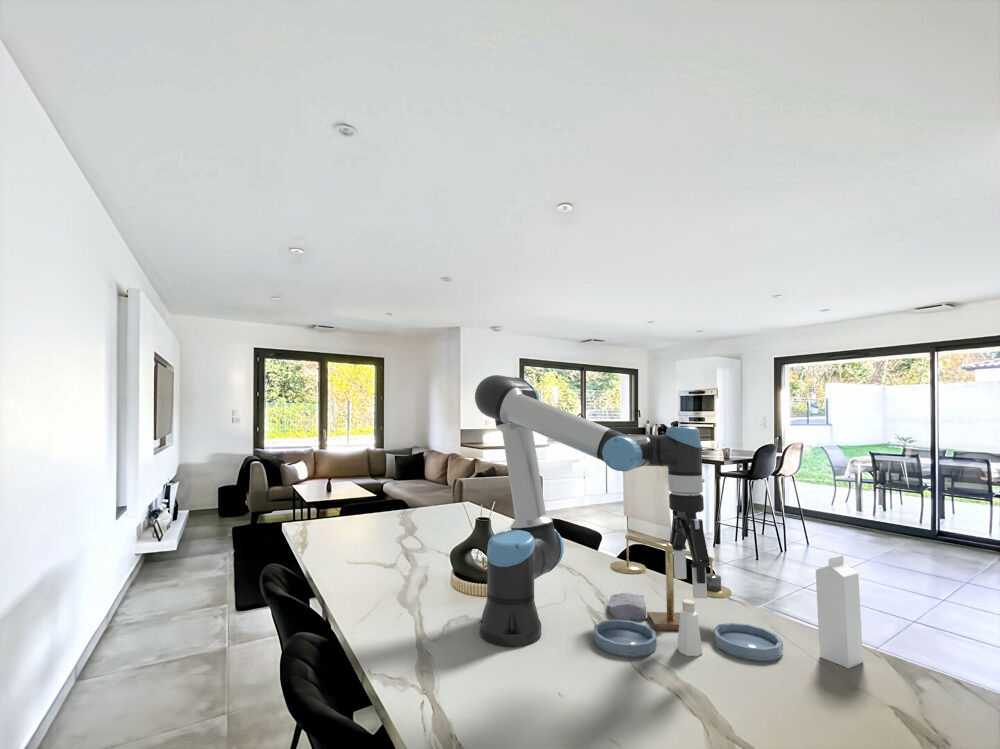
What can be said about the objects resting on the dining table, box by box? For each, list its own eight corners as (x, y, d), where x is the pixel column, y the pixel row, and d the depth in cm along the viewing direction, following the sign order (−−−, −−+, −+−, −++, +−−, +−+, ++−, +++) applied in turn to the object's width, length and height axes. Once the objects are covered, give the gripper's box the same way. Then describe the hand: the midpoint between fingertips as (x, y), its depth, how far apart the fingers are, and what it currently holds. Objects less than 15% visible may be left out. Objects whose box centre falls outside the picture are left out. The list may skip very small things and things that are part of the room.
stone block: (611, 626, 132) (650, 621, 130) (607, 607, 133) (645, 602, 131) (610, 611, 144) (645, 606, 142) (606, 593, 144) (642, 588, 143)
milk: (863, 662, 109) (858, 558, 111) (848, 669, 106) (844, 562, 108) (833, 651, 114) (829, 551, 116) (818, 657, 111) (814, 555, 113)
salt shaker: (700, 659, 110) (698, 607, 111) (674, 652, 113) (673, 602, 114) (704, 649, 115) (703, 599, 116) (680, 643, 117) (678, 595, 118)
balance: (614, 630, 125) (613, 538, 127) (608, 616, 134) (607, 530, 136) (738, 633, 123) (735, 540, 125) (724, 618, 132) (721, 532, 134)
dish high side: (582, 643, 117) (582, 632, 117) (613, 626, 127) (613, 615, 127) (638, 663, 108) (637, 651, 108) (666, 642, 118) (666, 631, 118)
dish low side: (705, 647, 116) (705, 635, 116) (726, 629, 126) (726, 618, 126) (772, 668, 106) (771, 655, 106) (789, 646, 116) (788, 634, 117)
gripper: (723, 501, 104) (728, 607, 102) (684, 486, 129) (688, 571, 127) (686, 501, 105) (691, 607, 103) (655, 486, 129) (658, 571, 127)
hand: (689, 587), depth 115 cm, fingers open, 13 cm apart
